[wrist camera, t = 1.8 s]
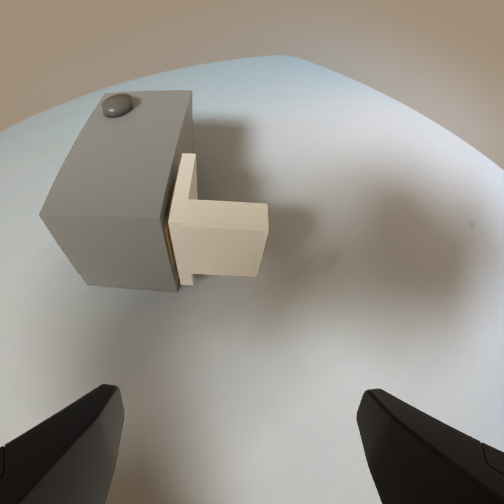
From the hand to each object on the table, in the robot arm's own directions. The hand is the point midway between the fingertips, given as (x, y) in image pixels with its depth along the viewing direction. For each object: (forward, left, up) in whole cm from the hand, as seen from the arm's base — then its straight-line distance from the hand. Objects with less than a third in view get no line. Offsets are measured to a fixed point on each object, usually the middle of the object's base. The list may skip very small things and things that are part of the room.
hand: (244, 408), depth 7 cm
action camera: (+16, 0, -13) cm, 21 cm away
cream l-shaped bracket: (+10, -4, -11) cm, 16 cm away
